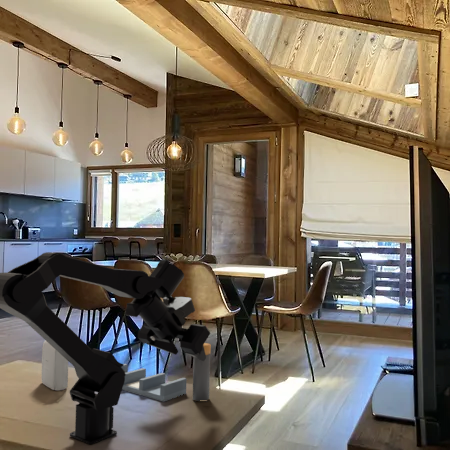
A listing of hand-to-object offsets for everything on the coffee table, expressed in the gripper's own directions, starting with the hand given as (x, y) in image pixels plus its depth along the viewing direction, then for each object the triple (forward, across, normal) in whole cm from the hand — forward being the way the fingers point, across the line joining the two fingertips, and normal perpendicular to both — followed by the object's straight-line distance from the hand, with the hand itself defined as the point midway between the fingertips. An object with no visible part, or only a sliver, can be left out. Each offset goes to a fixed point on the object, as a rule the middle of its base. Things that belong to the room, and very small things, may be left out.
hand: (190, 356), depth 111 cm
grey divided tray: (+8, +17, +8) cm, 20 cm away
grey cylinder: (+10, 0, +5) cm, 12 cm away
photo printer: (-2, +35, +18) cm, 39 cm away
